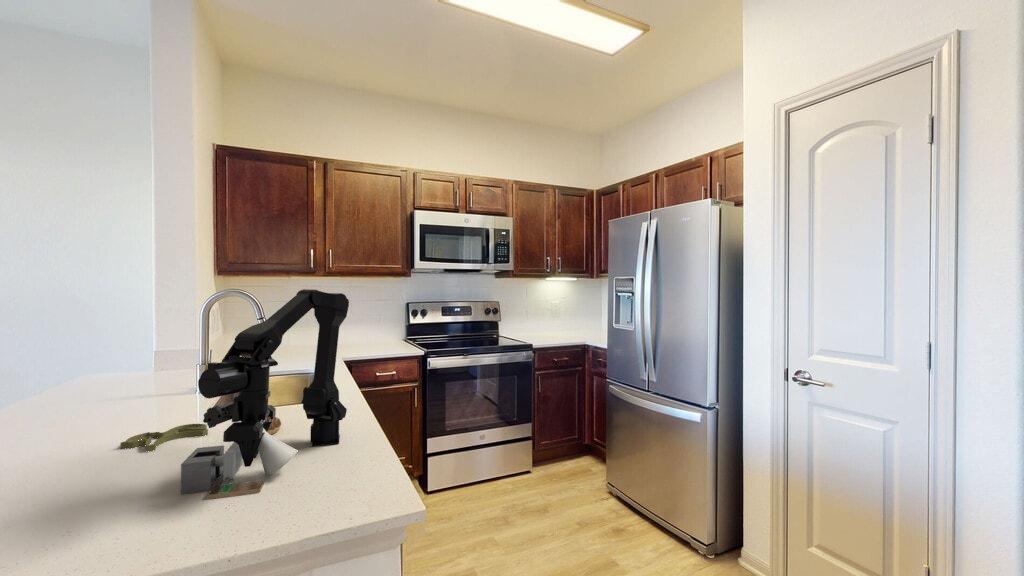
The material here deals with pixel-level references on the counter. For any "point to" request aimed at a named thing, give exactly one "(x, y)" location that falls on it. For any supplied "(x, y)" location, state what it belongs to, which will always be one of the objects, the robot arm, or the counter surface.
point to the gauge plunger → (229, 462)
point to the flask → (274, 453)
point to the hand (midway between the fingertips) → (250, 462)
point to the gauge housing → (211, 475)
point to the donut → (273, 425)
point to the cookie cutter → (165, 436)
